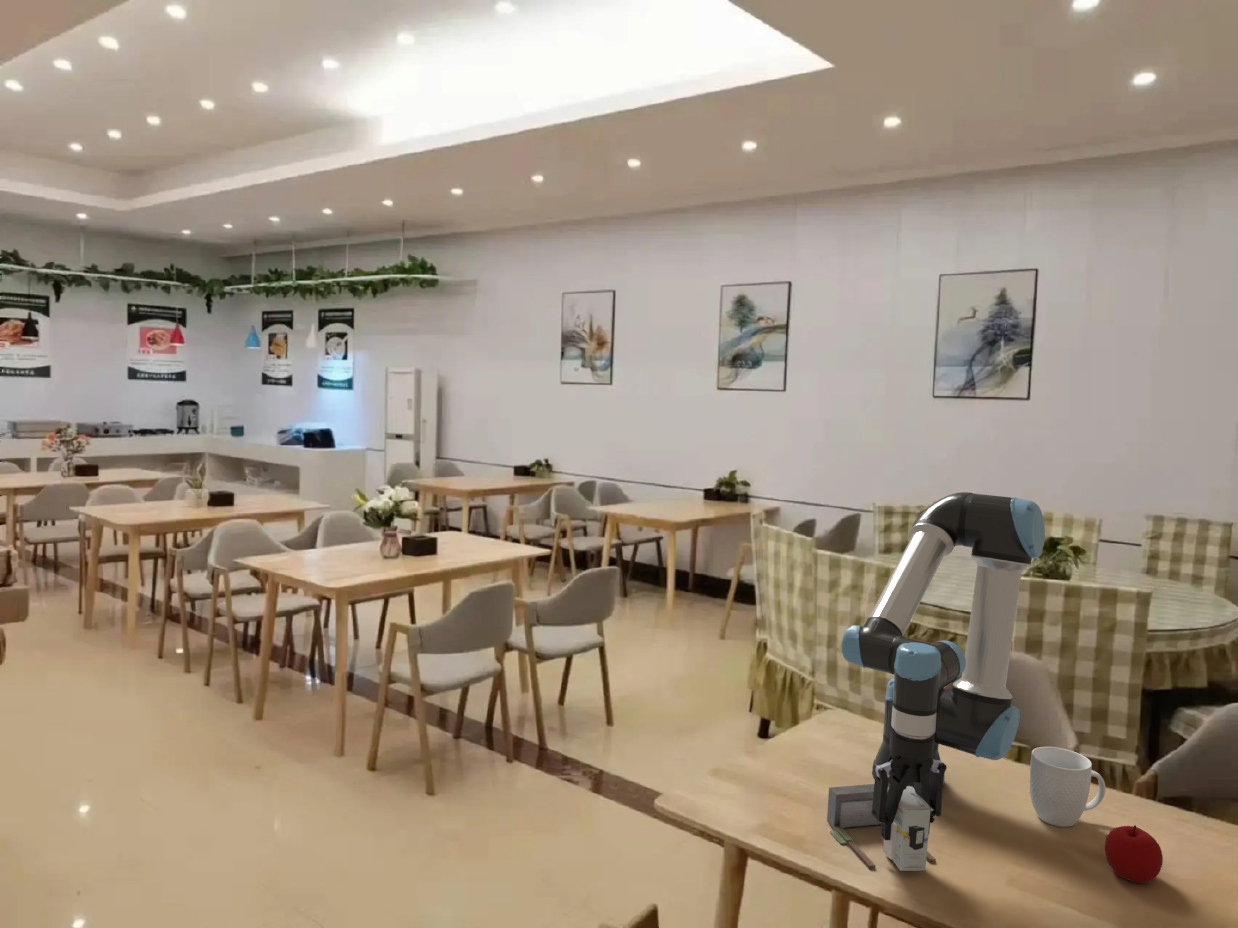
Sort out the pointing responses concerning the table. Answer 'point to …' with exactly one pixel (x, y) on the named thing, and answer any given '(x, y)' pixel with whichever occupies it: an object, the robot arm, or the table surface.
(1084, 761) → the mug
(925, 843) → the ink box
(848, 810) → the grey block
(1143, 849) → the apple
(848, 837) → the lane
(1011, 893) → the table surface
